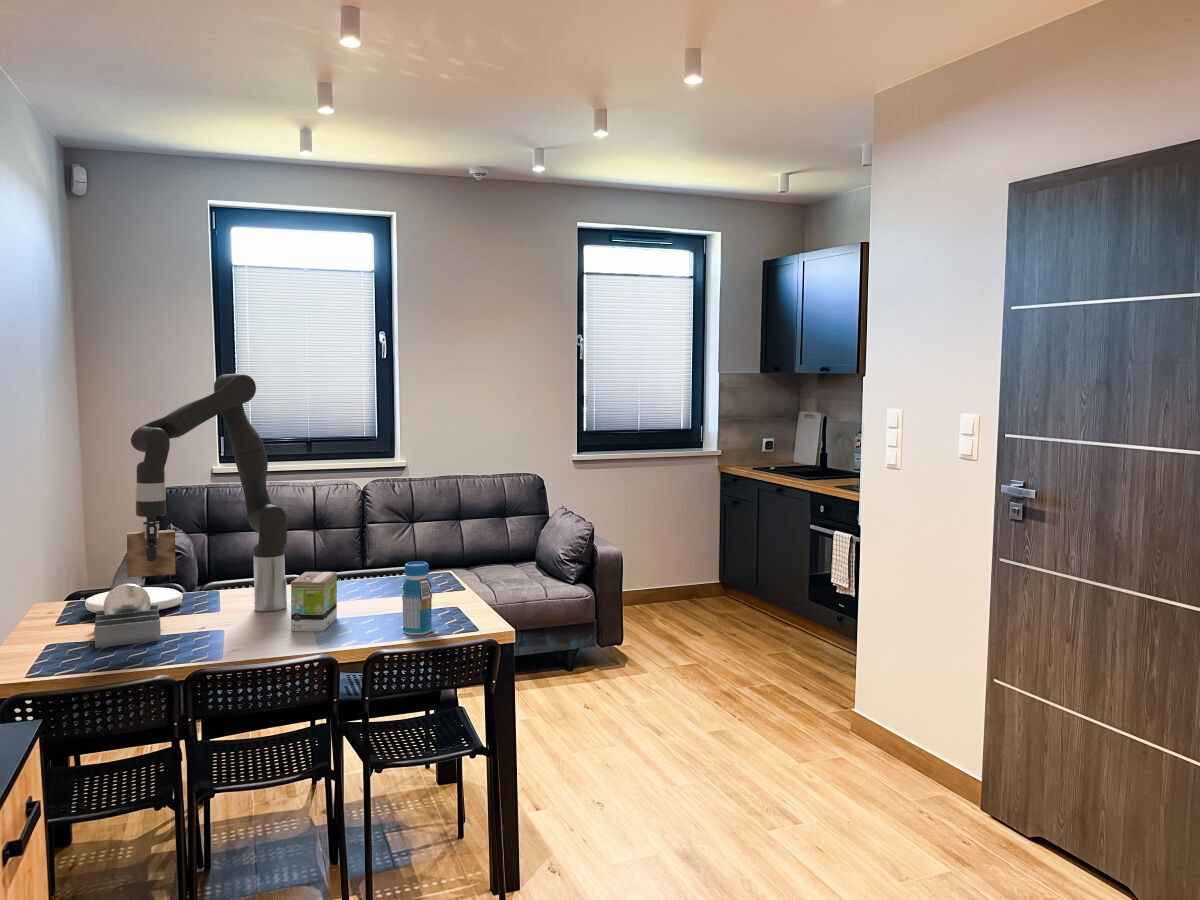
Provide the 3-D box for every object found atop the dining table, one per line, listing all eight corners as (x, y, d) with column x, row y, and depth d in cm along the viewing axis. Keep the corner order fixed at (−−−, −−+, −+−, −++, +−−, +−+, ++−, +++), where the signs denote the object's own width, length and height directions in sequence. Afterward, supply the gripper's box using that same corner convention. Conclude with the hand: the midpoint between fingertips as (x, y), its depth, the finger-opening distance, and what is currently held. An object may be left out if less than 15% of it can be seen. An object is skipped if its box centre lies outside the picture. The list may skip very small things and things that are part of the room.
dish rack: (158, 622, 267) (157, 579, 266) (160, 640, 250) (159, 593, 249) (97, 629, 260) (95, 584, 259) (95, 648, 242) (93, 599, 241)
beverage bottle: (402, 636, 254) (401, 567, 253) (402, 628, 263) (402, 561, 261) (432, 635, 256) (431, 566, 254) (432, 627, 264) (431, 560, 263)
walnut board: (174, 571, 256) (174, 529, 255) (175, 574, 253) (175, 531, 252) (127, 574, 250) (126, 532, 250) (127, 577, 247) (126, 534, 246)
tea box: (325, 632, 259) (324, 581, 258) (290, 632, 258) (289, 581, 257) (337, 618, 274) (337, 570, 273) (304, 618, 273) (303, 570, 272)
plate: (130, 582, 299) (201, 587, 294) (129, 602, 299) (200, 607, 294) (64, 593, 272) (141, 598, 266) (63, 614, 272) (140, 620, 266)
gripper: (166, 501, 246) (167, 563, 247) (164, 495, 258) (165, 554, 259) (136, 502, 242) (136, 564, 243) (135, 496, 255) (135, 556, 256)
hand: (151, 559), depth 251 cm, fingers closed on walnut board, 4 cm apart
